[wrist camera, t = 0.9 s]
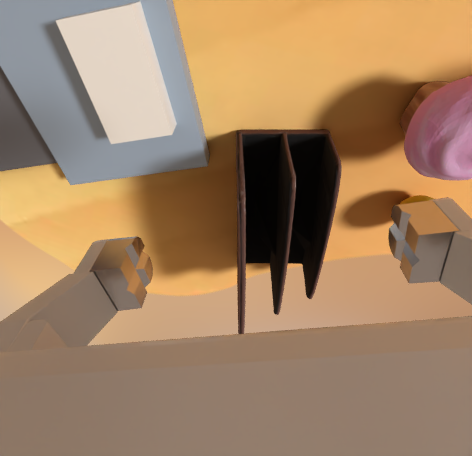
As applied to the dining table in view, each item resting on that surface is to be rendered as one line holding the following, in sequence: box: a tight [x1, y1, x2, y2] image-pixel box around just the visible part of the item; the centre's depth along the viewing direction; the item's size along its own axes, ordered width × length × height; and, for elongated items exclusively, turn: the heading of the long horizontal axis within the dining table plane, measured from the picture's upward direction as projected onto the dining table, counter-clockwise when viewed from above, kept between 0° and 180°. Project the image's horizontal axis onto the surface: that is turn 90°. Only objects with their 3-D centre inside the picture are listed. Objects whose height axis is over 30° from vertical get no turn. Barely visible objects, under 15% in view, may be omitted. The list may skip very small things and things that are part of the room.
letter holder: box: [236, 130, 341, 334], centre depth 35 cm, size 10×20×14 cm, turn 1°
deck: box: [0, 0, 210, 185], centre depth 30 cm, size 20×16×2 cm
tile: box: [56, 1, 177, 144], centre depth 27 cm, size 10×6×2 cm, turn 9°
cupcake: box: [400, 76, 472, 180], centre depth 28 cm, size 9×9×10 cm
